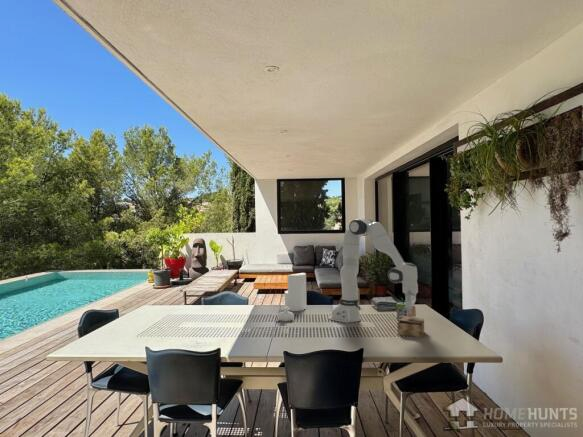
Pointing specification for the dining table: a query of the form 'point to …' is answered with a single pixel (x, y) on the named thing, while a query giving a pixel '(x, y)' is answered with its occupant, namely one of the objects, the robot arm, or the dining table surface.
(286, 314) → the bust
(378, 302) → the towel
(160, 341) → the dining table surface
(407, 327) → the crate
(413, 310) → the cube
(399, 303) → the chalk box
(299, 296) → the cylinder
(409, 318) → the lid
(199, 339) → the dining table surface
